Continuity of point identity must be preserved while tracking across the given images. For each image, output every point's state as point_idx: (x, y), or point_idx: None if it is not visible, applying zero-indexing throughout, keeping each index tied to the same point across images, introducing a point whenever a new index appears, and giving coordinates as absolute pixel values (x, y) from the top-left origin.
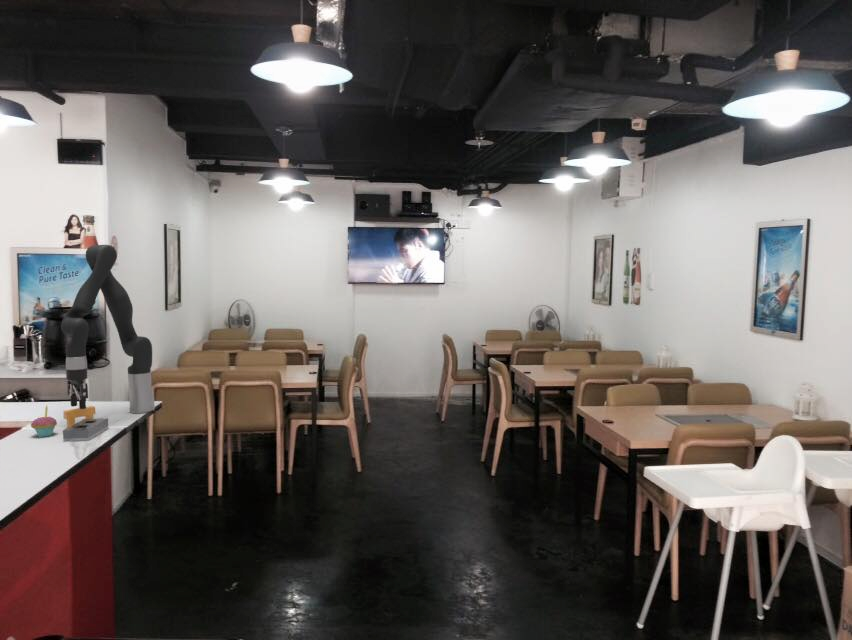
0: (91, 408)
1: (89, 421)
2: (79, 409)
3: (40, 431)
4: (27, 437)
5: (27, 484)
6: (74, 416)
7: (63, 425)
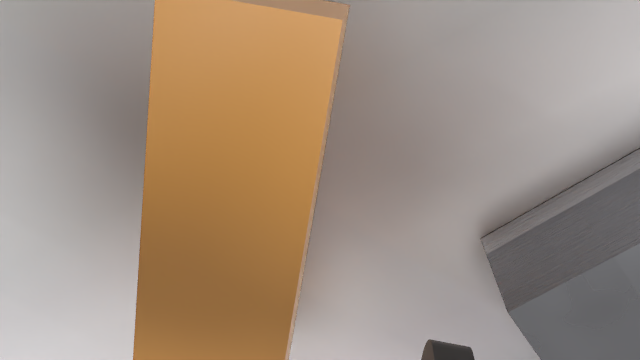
0: (329, 104)
1: None
2: (268, 329)
3: None
4: None
5: None
6: (289, 351)
7: (55, 252)
